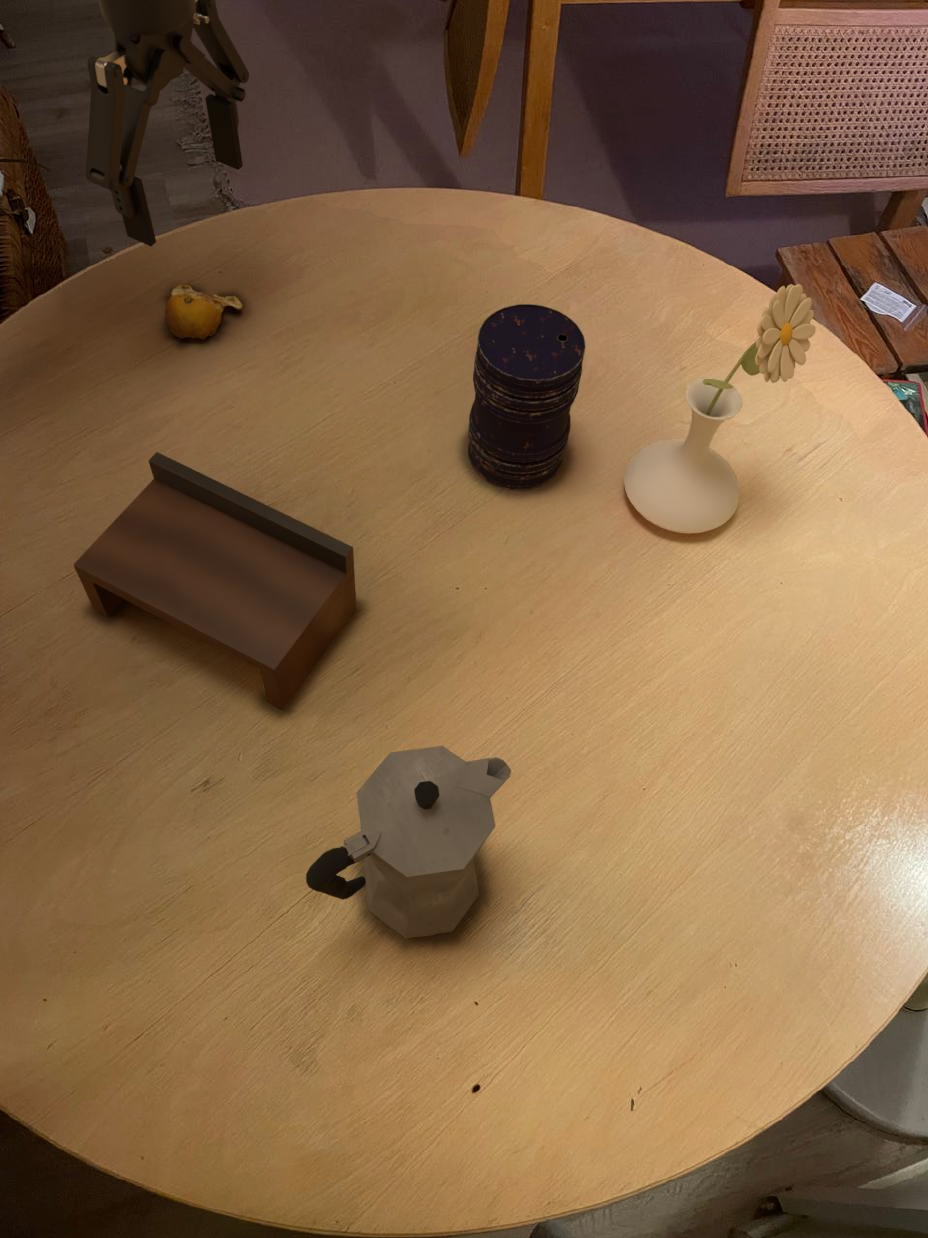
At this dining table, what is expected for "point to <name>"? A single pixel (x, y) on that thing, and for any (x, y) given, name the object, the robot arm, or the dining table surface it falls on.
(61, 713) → the dining table surface
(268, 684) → the shelf
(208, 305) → the fruit
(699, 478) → the flower in vase
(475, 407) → the dark blue barrel
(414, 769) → the coffeepot
